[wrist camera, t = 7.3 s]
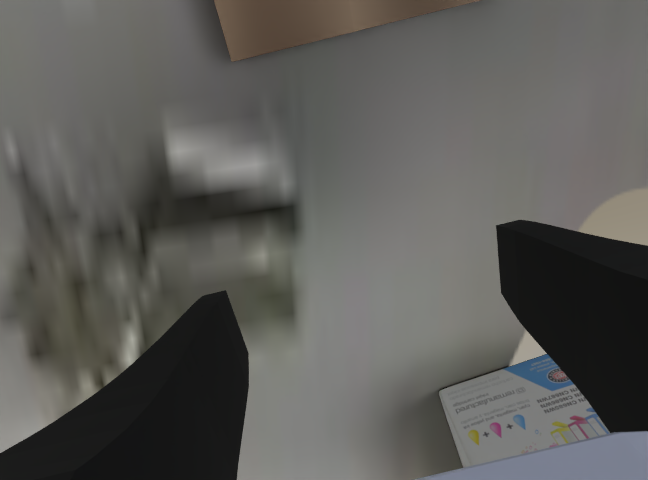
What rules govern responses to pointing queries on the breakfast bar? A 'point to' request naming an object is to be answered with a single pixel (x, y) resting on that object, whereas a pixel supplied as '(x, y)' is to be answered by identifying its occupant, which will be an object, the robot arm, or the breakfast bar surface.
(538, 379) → the ink box
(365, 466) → the breakfast bar surface
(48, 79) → the breakfast bar surface
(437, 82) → the breakfast bar surface
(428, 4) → the walnut base
